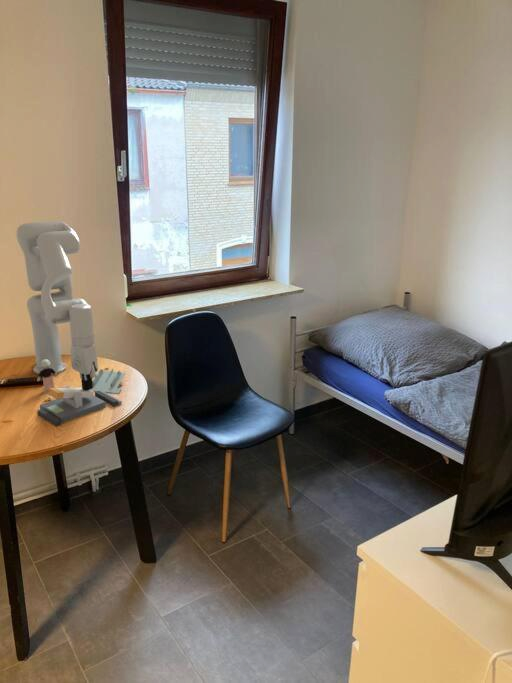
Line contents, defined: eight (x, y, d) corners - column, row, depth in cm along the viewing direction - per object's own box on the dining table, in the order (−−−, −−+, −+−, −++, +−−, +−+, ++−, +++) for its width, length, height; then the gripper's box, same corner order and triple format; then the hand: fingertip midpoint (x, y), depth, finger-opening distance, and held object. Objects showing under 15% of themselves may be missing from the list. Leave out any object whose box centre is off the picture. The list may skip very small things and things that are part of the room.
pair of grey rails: (38, 415, 183) (37, 410, 183) (101, 393, 201) (100, 388, 200) (57, 428, 175) (57, 423, 175) (121, 403, 193) (121, 399, 192)
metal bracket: (94, 364, 212) (130, 368, 210) (97, 376, 216) (132, 379, 213) (78, 388, 201) (116, 392, 199) (81, 400, 204) (119, 404, 202)
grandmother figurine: (53, 386, 205) (50, 355, 201) (60, 389, 203) (57, 357, 199) (36, 393, 199) (32, 361, 195) (43, 396, 197) (39, 364, 193)
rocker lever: (47, 393, 183) (48, 387, 183) (83, 392, 194) (84, 386, 194) (57, 399, 179) (58, 393, 179) (93, 397, 190) (94, 391, 190)
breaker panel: (40, 410, 187) (38, 391, 185) (84, 394, 199) (82, 377, 197) (61, 423, 178) (59, 404, 176) (105, 406, 190) (104, 388, 188)
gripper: (61, 337, 187) (66, 386, 193) (85, 348, 178) (90, 398, 184) (80, 332, 192) (85, 380, 198) (105, 342, 183) (108, 392, 189)
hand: (87, 388), depth 191 cm, fingers closed
